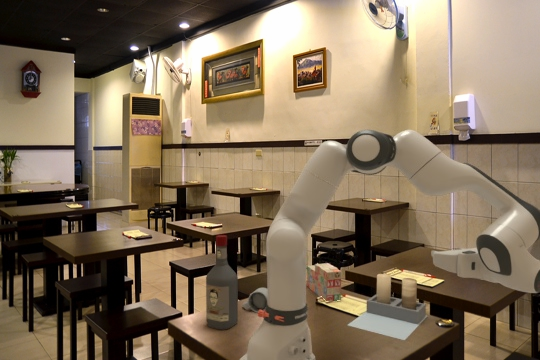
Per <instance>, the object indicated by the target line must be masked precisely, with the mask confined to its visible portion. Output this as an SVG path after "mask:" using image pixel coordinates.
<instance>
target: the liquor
mask: <svg viewBox="0 0 540 360" xmlns="http://www.w3.org/2000/svg"><path fill="white" fill-rule="evenodd" d="M215 246H216V257H215V258H216V262H215V264H214V266H213V267H212V268H211V269H210V270H209V272H208V273H207V275H206V276H205V290H206V292H205V297H206V299H205V301H206V302H205V304H206V305H205V308H206V309H205V310H206V311H205V312H206V317H205V318H206V321H205V322H206V325H207V326H208V328H212V329H217V330H220V331H222V330H229V329H231V328H232V327H233V326H234V327H235V325H237V323H238V320H239V318H238V317H239V316H238V311H239V309H238V308H239V307H238V306H239V304H238V302H239V301H238V300H239V299H238V298H239V297H238V296H239V295H238V294H239V293H238V291H239V290H238V289H239V287H238V285H239V284H238V283H239V282H238V281H239V280H238V275H237V273H236V272H235V270H233V268H232V267H231V266H230V264H229V262H228V253H227V252H228V251H227V248H228V247H227V246H228V235H224V234H219V235H218V234H217V235H215Z"/></svg>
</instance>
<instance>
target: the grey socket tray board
mask: <svg viewBox="0 0 540 360" xmlns="http://www.w3.org/2000/svg"><path fill="white" fill-rule="evenodd" d="M391 283H392V276H391V274H387V273H378V274H377V275H376V294H374V295H373V296H372V297H370V298H369V299H367V300H366V311H365V312H363V313H362V314H361V315H359V316H358V317H356V318H355V319H354V320H352V321H350V322H349V323H348V324H347V326H348V327H352V328H356V329H360V330H363V331H366V332H367V331H368V332H372V333H376V334H380V335H383V336H386V337H391V338H394V339H398V340H402V341H406V339H408V338H409V336H410V335H411V334H412V333H413V332H414V331H415V330H416V329H417V328H418V327H419V326H420V325H421V324H422V322H424V320H426V318H428V315H427V313H426V312H427V304H426V303H421V302H419V301H416V310H412V309H407V308H403V307H402V298H397V297H393V296H392V294H391V291H392V289H391V288H392V284H391Z"/></svg>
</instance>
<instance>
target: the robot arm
mask: <svg viewBox="0 0 540 360" xmlns="http://www.w3.org/2000/svg"><path fill="white" fill-rule="evenodd" d="M387 167H392V168H395V169H396V170H397V171H398V172H400V173H401V174H402V175H404V177H405V178H406V179H407V180H408V181H409V182H410V183H411V184H412V185H413V186H414V188H416V189H417V190H418V191H419V192H421V194H424V195H426V196H431V197H441V196H446V195H450V194H454V193H456V192H462V191H463V192H464V191H466V192H467V191H468V192H470V193H471V192H472V193H474V194H476V196H478V197H479V198H480V199H482V200H484V201H485V202H486V203H487V204H489V205H490V206H492V207H493V208H494V209H495V210H497V211H498V212H499V216H498V217H497V218H496V219H495V220H494V221H493V222H492V223H491V224H489V225H488V226H487V227H486V228H485V229H483V231H482V232H481V233H480V234H479V235H478V236H477V237H476V241H475V246H476V247H472V248H471V247H470V248H461V247H457V248H456V247H455V248H454V250H453V249H452V250H451V249H450V250H443V251H442V250H441V251H440V250H436V249H435V250H431V251H430V252H431V253H430V254H431V255H430V256H431V258H432V263H433V265H434V266H435V267H436V268H439V269H442V270H444V271H447V272H450V273H453V274H457V276H458V277H460V278H463V279H464V278H465V279H478V280H481V281H482V280H483V281H486V282H490V283H495V284H498V283H499V284H500V285H502V286H504V287H506V288H508V289H512V290H514V291H518V292H523V293H530V294H538V293H540V259H537V258H536V257H534V256H533V255H532V254H531V253H530V252H529V251H528V250H529V248H530V247H531V246H532V245H533V244H534V243H536V242H537V241H538V240H540V209H539V207H536V206H535V205H533V204H531V203H529V202H528V201H525V200H523V199H522V198H520V197H518V196H517V195H516V194H515V193H513V192H512V191H510V190H509V189H507V188H506V187H505V186H503V185H502V184H501V183H499V182H498V181H497V180H495V179H494V178H493V177H491V176H489V175H488V174H487V173H485V172H484V171H482V170H481V169H479V167H476V166H474V165H472V164H470V163H467V162H459V161H456V160H455V159H452V158H451V157H449V156H448V155H446V154H445V153H444V152H443V151H442V150H441V149H440V148H439V147H437V146H436V144H434V143H433V142H431V141H430V140H429V139H428V138H426V137H425V136H424V135H422V134H421V133H419V131H418V132H417V131H416V130H413V129H406V130H402V131H400V132H398V133H397V134H395V135H394V136H392V135H391V134H388V133H383V132H380V131H377V130H373V129H362V130H359V131H357V132H355V133H353V134H352V136H351V137H350V138H349V140H348V141H347V144H342V143H340V142H338V141H336V140H327V141H326V140H325V141H323V142H321V144H320V145H319V146H317V148H316V149H315V151H314V152H313V153H312V154H311V156H310V158H308V160H307V162H306V163H305V165H304V167H303V168H302V170H301V172H300V174H299V176H298V178H297V180H296V181H295V183H294V185H293V186H292V188H291V189H290V192H289V193H288V195H287V197H286V198H285V200H284V202H283V204H281V207H280V208H279V210H278V211H277V214H276V215H275V217H274V218H273V221H272V223H270V225H269V229H268V232H267V235H266V240H265V242H266V243H265V244H266V247H265V249H266V251H265V252H266V273H267V276H266V277H267V283H266V284H267V304H266V307H265V310H264V311H263V310H261V309H260V310H259V312H257V316H258V318H262V321H261V323H260V324H259V325H258V327H257V329H256V330H255V332H254V333H253V334H252V336H251V338H250V339H249V341H248V344H247V351H246V353H244V355H243V356H242V357H240V358H239V360H316V356H315V354H314V353H313V347H312V346H313V344H312V334H311V333H312V332H311V329H310V326H309V323H308V321H307V318H308V313H309V311H308V310H309V309H308V304H307V264H308V263H307V261H308V259H307V257H308V255H307V254H308V236H309V234H310V232H311V231H312V230H313V228H314V226H315V225H316V224H317V222H318V220H319V219H320V218H321V216H322V215H323V214H324V212H325V211H326V209H327V207H328V205H329V204H330V202H331V200H332V199H333V198H334V196H335V194H336V193H337V190H338V188H339V186H340V184H341V183H342V181H343V179H344V178H345V176H346V175H347V174H348V173H350V172H352V173H358V174H361V175H367V176H372V175H377V174H379V173H381V172H383V171H384V170H385V169H386V168H387Z"/></svg>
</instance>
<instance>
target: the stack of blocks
mask: <svg viewBox="0 0 540 360" xmlns="http://www.w3.org/2000/svg"><path fill="white" fill-rule="evenodd" d="M306 287H308V288H309V289H310V290H311V291H312V292H313V293H314V294H316V295H317V296H318V297H319V296H322V297H323V298H324V299H325V300H326V301H337V300H342V294H341V293H342V271H341V270H340V269H339V268H338V267H336V266H334V265H332V264H331V263H330V262H329V263H328V262H325V263H315V264H314V265H306ZM337 302H338V301H337Z"/></svg>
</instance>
